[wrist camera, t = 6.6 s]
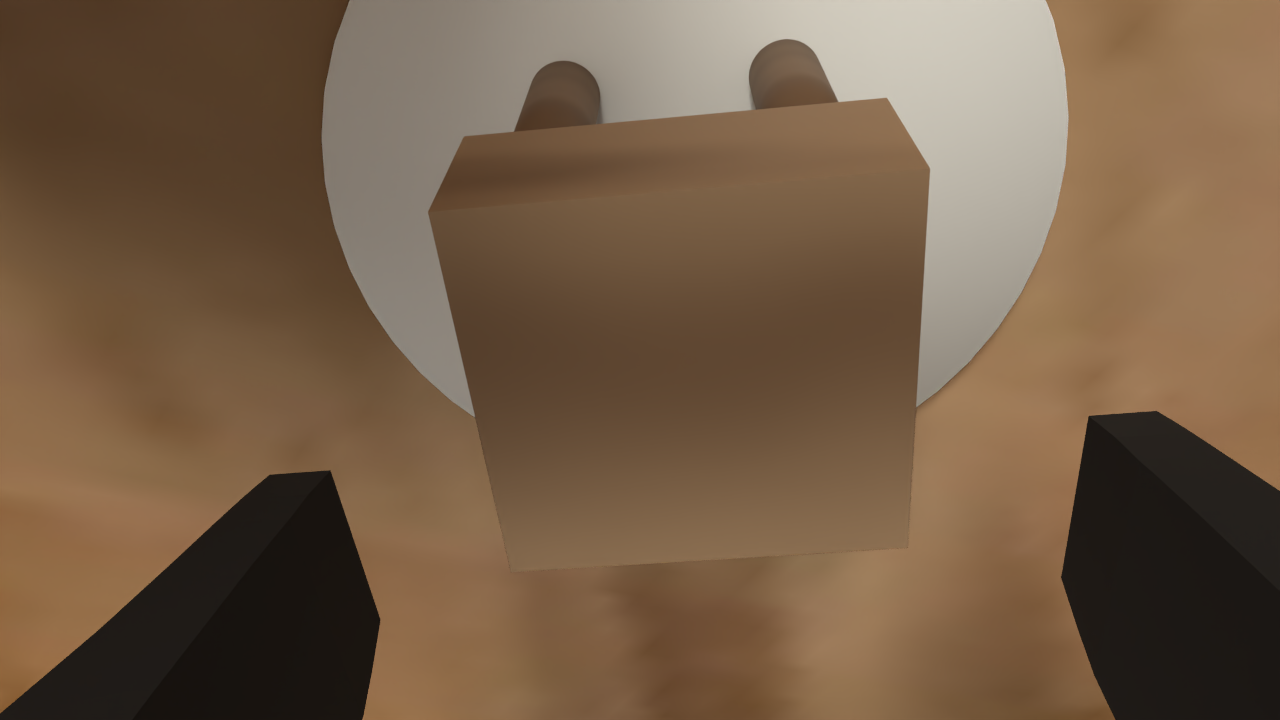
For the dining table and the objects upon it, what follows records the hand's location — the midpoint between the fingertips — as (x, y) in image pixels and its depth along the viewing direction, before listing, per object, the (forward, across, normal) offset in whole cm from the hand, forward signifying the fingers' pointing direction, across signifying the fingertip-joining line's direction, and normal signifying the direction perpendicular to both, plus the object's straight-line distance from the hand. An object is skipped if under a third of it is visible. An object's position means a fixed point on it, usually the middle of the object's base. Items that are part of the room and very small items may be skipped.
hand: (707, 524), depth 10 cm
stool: (+8, 0, 0) cm, 8 cm away
